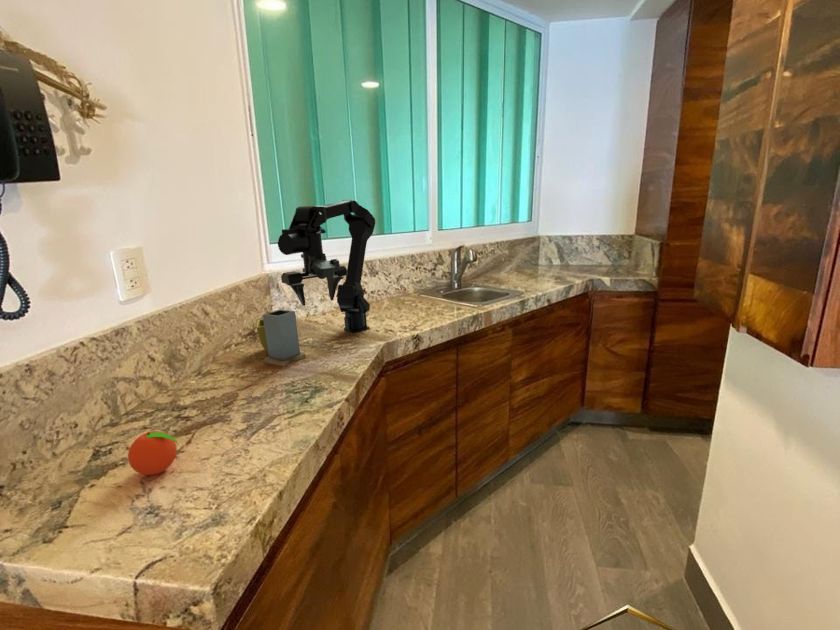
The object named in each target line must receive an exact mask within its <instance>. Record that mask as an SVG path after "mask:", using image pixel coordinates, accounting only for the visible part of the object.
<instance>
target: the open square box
mask: <svg viewBox="0 0 840 630" xmlns="http://www.w3.org/2000/svg"><path fill="white" fill-rule="evenodd" d="M296 317H297V316H296V311H294V310H287V309H277V310H274V311H270V312H267V313H263V314H262V319H263V321H264V328H265V335H266V341H267V348H268V353H267V355H268V357H269V358H271V359H275V360H280V361H286V360H288V359H291V358H293V357H295V356H298V355H300V353H301V348H300V343H299V342H300V340H299V332H298V324H297V318H296Z"/></svg>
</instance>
